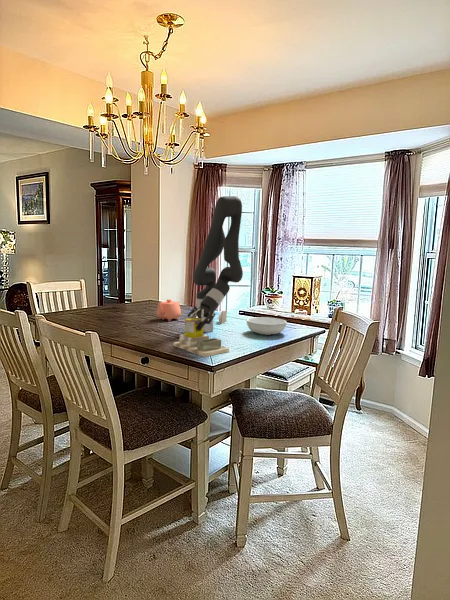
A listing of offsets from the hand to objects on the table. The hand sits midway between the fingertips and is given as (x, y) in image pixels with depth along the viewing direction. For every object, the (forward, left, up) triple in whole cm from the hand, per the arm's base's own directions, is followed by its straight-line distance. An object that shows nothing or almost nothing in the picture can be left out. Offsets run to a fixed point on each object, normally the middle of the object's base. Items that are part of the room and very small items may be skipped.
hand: (191, 327), depth 186 cm
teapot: (-58, +25, -9) cm, 64 cm away
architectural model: (-33, +47, -9) cm, 58 cm away
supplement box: (0, +2, -7) cm, 8 cm away
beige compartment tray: (+5, +1, -9) cm, 10 cm away
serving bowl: (0, +48, -9) cm, 49 cm away
